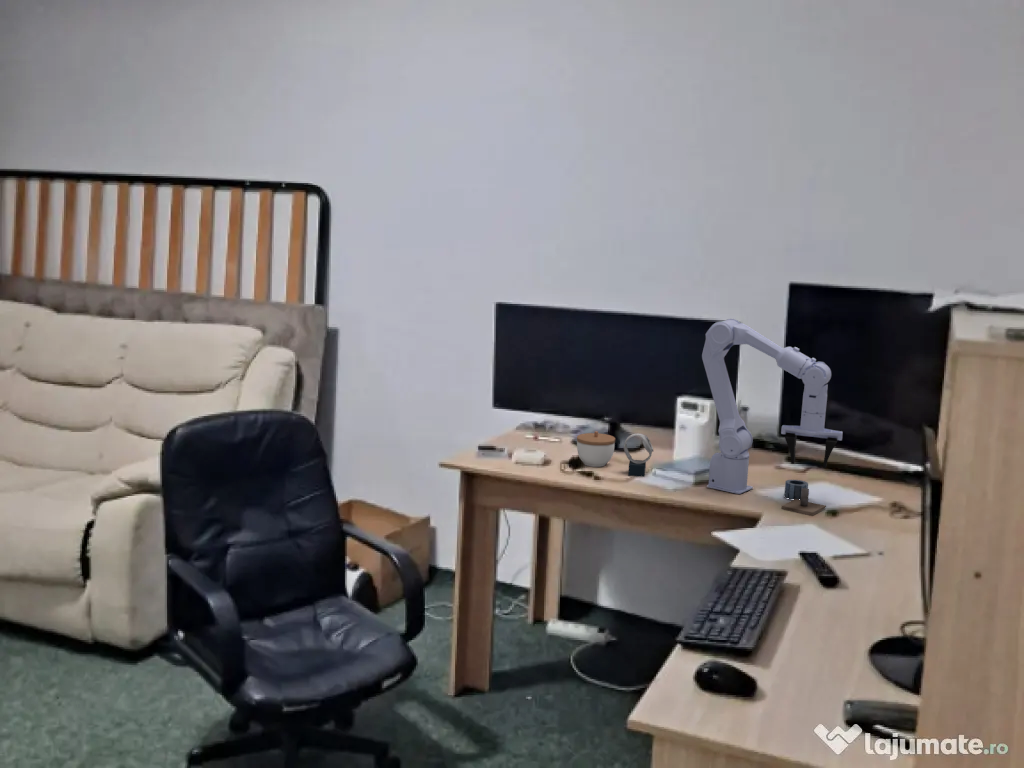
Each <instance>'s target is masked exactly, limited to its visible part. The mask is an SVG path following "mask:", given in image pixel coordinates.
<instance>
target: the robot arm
mask: <svg viewBox="0 0 1024 768" xmlns="http://www.w3.org/2000/svg"><path fill="white" fill-rule="evenodd" d="M735 345H737V346H738V345H748V346H750V347H752V348H753V349H755V350H758V351H760V352H761V353H763V354H765V355H767V356H769V357H771V358H772V359H774V360H775V361H776V365H777V367H778V368H781V369H782V370H783V371H785V372H786V373H787V372H788V373H789V374H791V375H793V376H794V377H796V378H797V379H799V380H800V379H801V380H802V384H804V386H803V387H804V389H803V393H802V394H803V395H802V405H801V416H800V417H801V418H800V425H786V424H783V425H782V426H781V431H780V433H781V435H785V436H784V437H785V438H784V439H785V442H786V444H787V447H788V450H789V455H790V463H791V464H792V465H795V462H796V444H797V440H798V439H797V436H802V437H813V438H820V439H826V440H825V451H824V459H823V463H822V467H823V468H825V469H826V468H827V464H828V461H829V458H830V456H831V454H832V452H833V450H834V448H835V446H836V445H837V442H838V441H843V431H842V430H841V431H840V430H834V429H829V428H825V422H826V413H827V403H828V402H827V401H828V385H829V384H828V383H829V382H830V380H831V378H832V370H831V368H830V366H828V365H827V364H826V363H825V362H824V361H817V359H816V358H815V357H812V358H811V357H809V356H808V355H806V354H804V353H802V352H801V351H800V348H798V347H796V346H794V347H792V346H786V347H783V346H780V345H778V344H777V343H776V342H774V341H772V340H771V339H769V338H768V337H767V336H765V335H763V334H761V333H760V332H758V331H756V330H755V329H753V328H752V327H750V326H749V325H748V324H745V323H743V322H740V321H738V320H737V319H736V318H728V319H726V320H723V321H716V322H715V323H713V324H712V325H711V326H710V327H709V329H708V330H707V331H706V333H705V341H704V346H703V348H702V349H703V350H702V354H701V359H702V362H703V366H704V369H705V373H706V377H707V380H708V384H709V388H710V391H711V395H712V399H713V402H714V406H715V410H716V412H717V416H718V420H719V426H718V435H719V439H718V440H719V441H718V448H719V451H720V452H715V453H714V454H712V455H711V458H710V460H709V461H710V462H709V469H708V470H709V471H708V484H707V485H706V487H707V488H709V489H714V490H718V491H722V492H723V491H724V492H728V493H731V494H736V495H741V494H743V493H746V492H748V491H751V490H753V489H754V486H752V485H748V479H749V478H748V477H749V465H750V464H749V462H750V453H749V449H751V447H752V446H753V442H754V441H753V440H754V437H753V435H752V432H751V431H750V430H749V429H748V428H747V426H746V423H745V420H743V418H742V417H741V416H740V413H739V409H738V408H739V407H738V406H737V402H736V399H735V394H734V390H733V387H732V384H731V381H730V376H729V372H728V368H727V365H726V362H725V356H727V354H728V352H729V351H730V349H731V348H732V347H733V346H735Z"/></svg>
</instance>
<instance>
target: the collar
mask: <svg viewBox="0 0 1024 768" xmlns="http://www.w3.org/2000/svg"><path fill="white" fill-rule="evenodd" d="M802 488H807V489H809V482H807V481H806V480H800V479H787V480H785V482H784V495H783V496H785V497H786V498H789V499H798V500H799V499H800V500H801V489H802ZM785 497H784V498H785ZM786 498H785V499H786ZM789 499H788V500H789Z"/></svg>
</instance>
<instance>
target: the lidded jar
mask: <svg viewBox="0 0 1024 768" xmlns="http://www.w3.org/2000/svg"><path fill="white" fill-rule="evenodd" d="M576 440H577V441H576V449H577V454H578V457H579V459H580V460H581V461H582V463H583V464H584V466H587V467H592V468H593V467H594V468H599V467H600V468H602V467H606V464H608V463H609V462H610V461H611V460H612V457H613V455H614V452H615V447H616V446H615V445H616V444H615V443H616V437H615V436H613V435H610V434H605V433H599V431H597V430H596V431H595V430H594V432H586V433H580V434H578V435H577V436H576Z"/></svg>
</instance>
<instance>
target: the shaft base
mask: <svg viewBox="0 0 1024 768" xmlns="http://www.w3.org/2000/svg"><path fill="white" fill-rule="evenodd" d="M809 494H810V489H809V488H808V489H807V488H802V489H801V500H798V499H794V500H790V501H788V502H786V503H784V504H782V505H781V508H780V509H781V510H785V511H790V512H794V513H799V514H803V515H807V516H812V517H813V516H815V515H817V514H819V513H821V512H822V510H823V509H824V508H825V507H826V508H827V505H826V504H820V503H816V502H812V501H809V496H810V495H809ZM824 510H825V509H824ZM824 510H823V511H824Z"/></svg>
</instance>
